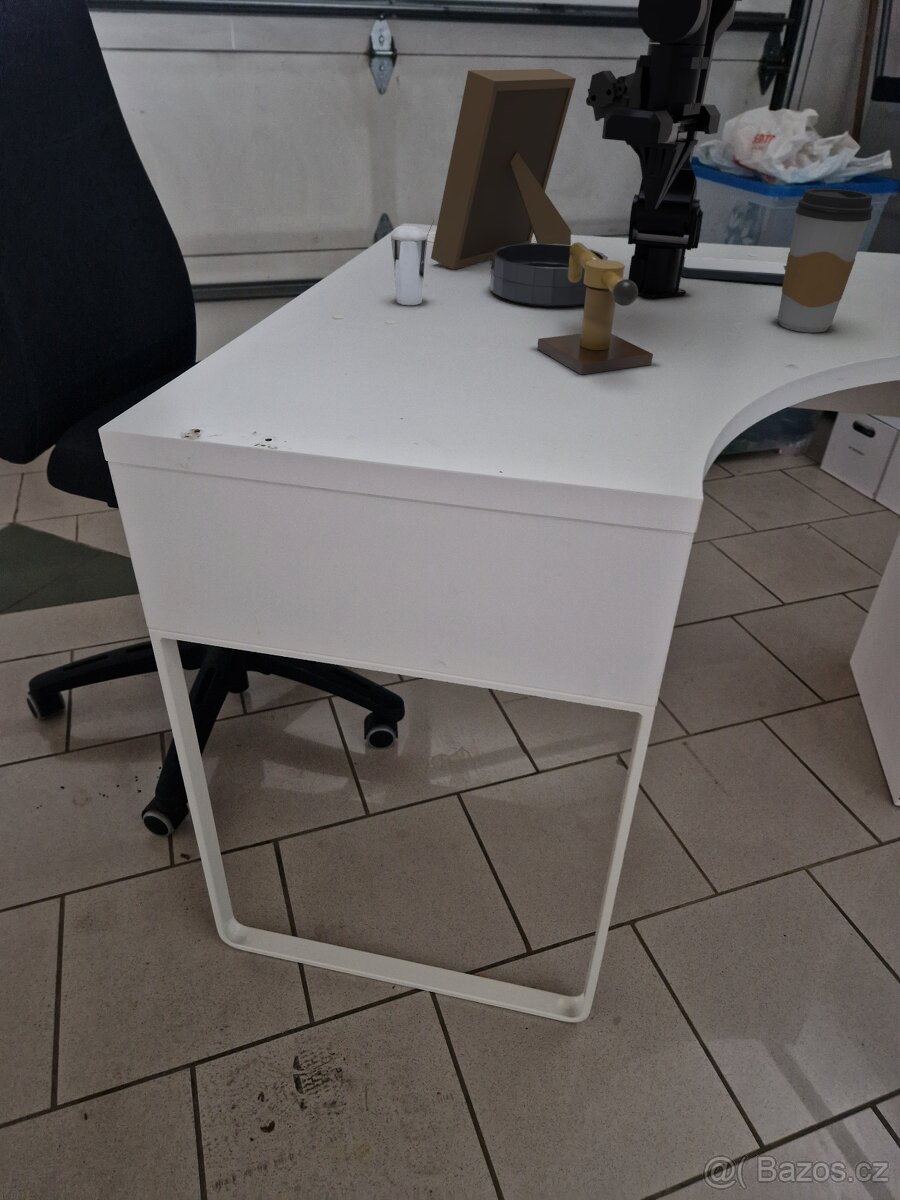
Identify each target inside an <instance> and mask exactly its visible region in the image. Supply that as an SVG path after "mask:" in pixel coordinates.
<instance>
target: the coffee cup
mask: <svg viewBox="0 0 900 1200" xmlns="http://www.w3.org/2000/svg"><path fill="white" fill-rule="evenodd" d="M872 200H873V195H872V194H870V193H867V192H861V191H857V190H856V191H855V190H849V189H841V188H840V189H839V188H808V189H806V190H804V193H803V196H802V199H799V200H798V203H797V207H796V208H795V211H794V212H795V219H794V225H793V231H792V236H791V242H790V248H789V252H788V254H787V260H786V263H787V265H786V270H785V276H784V281H783V284H782V287H781V297H780V298H781V299H780V302H779V308H778V313H777V319H778V324H779V325H780V326H781V327H783V328H785V329H788V330H791V331H795V332H801V333H812V334H813V333H814V334H815V333H823V332H826V331H828V329H829V327H830V326H832V324H833V321H834V319H835V316H836V313H837V310H838V308H839V304H840V302H841V301H842V298H843V295H844V292H845V289H846V287H847V284H848V282H849V278H850V276H851V272H852V270H853V268H854V265H855V262H856V257H857V255H858V252H859V249H860V245H861V243H862V240H863V237H864V234H865V231H866V229H867V226H868V223H869V221H871V220H872V212H873V210H874V206H873V205H872V202H873V201H872Z"/></svg>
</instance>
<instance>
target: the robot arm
mask: <svg viewBox="0 0 900 1200" xmlns="http://www.w3.org/2000/svg"><path fill="white" fill-rule="evenodd" d="M742 1H743V0H638V5H637V18H638V22H639V26H640V27H641V30H642V32H643V33H644V35H645V36H646V37H647V38H648V46H647V53H646V54H640V55H639V57H638V58H637V59H636V63H635V70H634V72H631V73H629V74H626V75H620V76H617V77H616V76H615V74H614V73H613V71H612V70H602V71H599V72H596V73H594V74H592V75H591V79H590V83H589V87H588V88H587V97H586V99H585V103H586V106H588V107H591V108H592V109H593V116H594V121H595V122H599V121H600V120H601V119H602V120H603V126H602V134H601V139H603V140H609V141H621V142H625V144H626V145H627V146H630V148H631V149H632V150H633V151H634V152H635V154H636V155H637V157H638V160H639V165H640V171H641V182H640V185H639V190H638V194H637V193H635V194H634V195H633V199H632V202H631V209H630V216H629V226H628V227H629V228H628V237H627V245H635V246H634V251H633V255H632V256H631V257H630V264H629V270H628V271H629V272H628V277H627V279H628V280H631V281H633V282H634V283H635V284H636V286H637V288H638V295H640V296H643V297H645V298H648V299H655V298H657V299H658V298H665V297H674V296H683V295H686V294H687V290H686V289H683V288H681V287H680V285H681V279H682V276H681V274H682V268H683V263H684V257H686V252H687V251H691V250H694V249H695V250H696V249H698V248H699V244H700V239H701V232H702V227H703V226H702V225H703V218H704V212H703V211H704V210H702V207H701V199H697V197H698V180H697V177H696V174H695V171H694V169H693V166H692V160H693V156H694V151H695V146H697V145H698V143H699V139H697V136H698V132H701V133H702V132H703V133H704V135H713V134H718V131H719V126H720V120H721V113H720V111H719V109H718V108H717V106H716V105H715V104H707V103H704V101H705V96H706V92H707V87H708V81H709V77H710V72H711V68H712V67H711V66H712V62H713V56H714V51H715V47H716V43H717V42H718V41H719V39H720V38H721V37H722V36H723V35H724V33H725V32H726V31H727V30H728V29H729V27H730V26H731V25H732V23H733V21H734V16H735V12H736V7H737V3H738V2H742ZM685 236H688V237H685Z"/></svg>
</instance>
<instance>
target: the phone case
mask: <svg viewBox="0 0 900 1200" xmlns="http://www.w3.org/2000/svg"><path fill="white" fill-rule="evenodd" d="M786 265H787V262H781V261H766V260H752V259H734V258H733V259H732V258H721V257H720V258H717V257H704V256H703V257H701V256H700V257H699V256H685V257H684V263H683V268H682V274H681V277H683V278H691V279H692V278H695V279H708V280H709V279H710V280H722V281H723V280H724V281H736V282H737V281H738V282H753V283H765V284H777V285H783V281H784V276H785V270H786Z"/></svg>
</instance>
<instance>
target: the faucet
mask: <svg viewBox="0 0 900 1200" xmlns="http://www.w3.org/2000/svg"><path fill="white" fill-rule="evenodd" d="M589 249H590V248H588V247H587V246H585V245H584V244H583V243H582V242H573V243H572V244H571V247H570V250H569V252H570V259H569V268H568V279H569V281H570V282H572V283H576V282H578V281H579V280H580V279H581V276H582V268H584V269H585V272H584V281H583V283H584V284H585V285H587V286H590V287H594V288H602V289H608V290H610V291H611V292H612V293H613V298H614V300H615V302H616V303H615V304H617V305H619V306H621V307H627V306H630V305H632V304H633V303H634V302H635V301H636V300H637V297H638V295H639V294H638V288H637V286H636V284H635V283H634V282H633V281H631V280H628V278H627V279H624V274H625V273H624V272H625V264H624V263H623V262H620V261H617V260H613V259H612V260H611V259H607V260H601V259H600V258H599V257H597V256H596V255H595V254H594V253H593V252H591V251H590V250H589Z"/></svg>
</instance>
